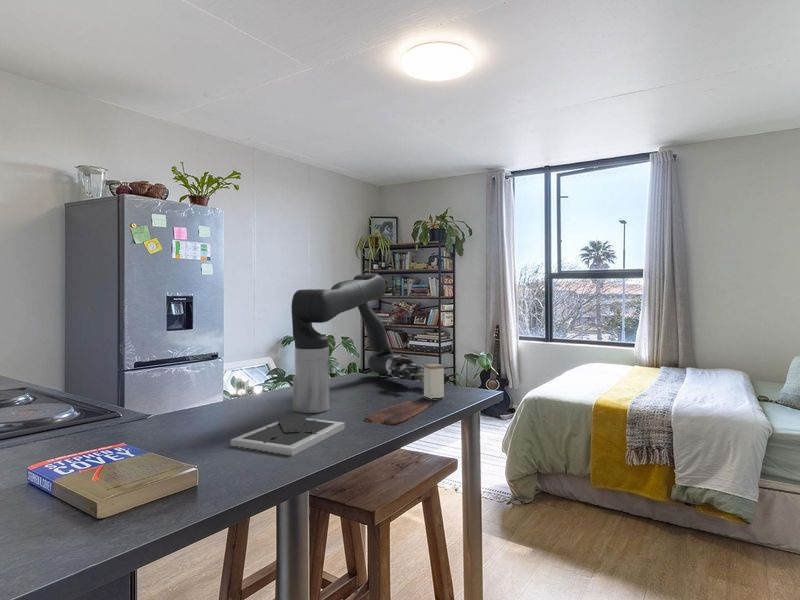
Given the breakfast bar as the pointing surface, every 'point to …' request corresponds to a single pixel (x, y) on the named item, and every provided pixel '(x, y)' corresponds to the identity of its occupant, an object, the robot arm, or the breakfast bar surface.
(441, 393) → the cream block
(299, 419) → the picture frame
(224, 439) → the breakfast bar surface
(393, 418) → the wooden tablet
